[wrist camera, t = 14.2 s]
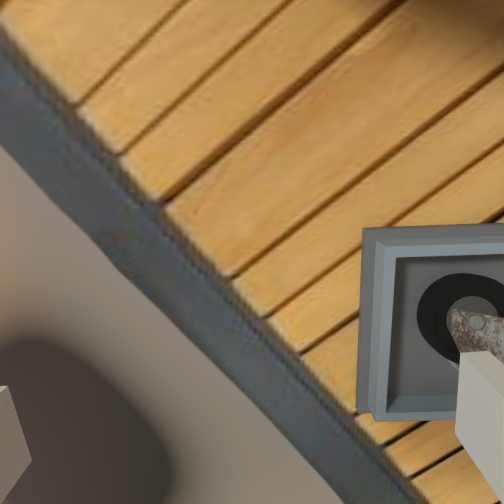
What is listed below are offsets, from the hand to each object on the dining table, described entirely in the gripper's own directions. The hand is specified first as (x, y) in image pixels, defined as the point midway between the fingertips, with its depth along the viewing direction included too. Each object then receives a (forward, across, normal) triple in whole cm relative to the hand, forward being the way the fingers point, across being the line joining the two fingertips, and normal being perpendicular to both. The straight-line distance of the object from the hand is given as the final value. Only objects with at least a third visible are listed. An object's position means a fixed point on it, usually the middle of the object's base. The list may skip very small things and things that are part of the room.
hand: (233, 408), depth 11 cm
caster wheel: (+24, +20, -12) cm, 33 cm away
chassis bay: (+25, +20, -12) cm, 34 cm away
